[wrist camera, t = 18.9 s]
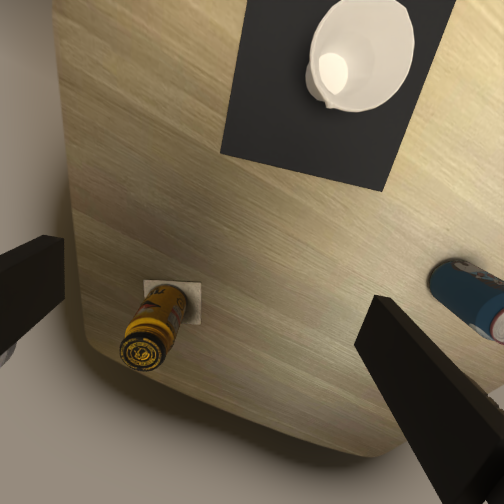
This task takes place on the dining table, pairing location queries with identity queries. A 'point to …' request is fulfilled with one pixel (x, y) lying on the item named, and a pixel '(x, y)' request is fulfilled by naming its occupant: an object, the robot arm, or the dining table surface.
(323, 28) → the cup
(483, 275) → the soda can
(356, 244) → the dining table surface
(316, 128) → the mat
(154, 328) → the condiment
